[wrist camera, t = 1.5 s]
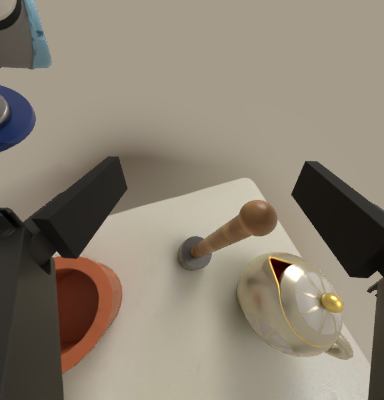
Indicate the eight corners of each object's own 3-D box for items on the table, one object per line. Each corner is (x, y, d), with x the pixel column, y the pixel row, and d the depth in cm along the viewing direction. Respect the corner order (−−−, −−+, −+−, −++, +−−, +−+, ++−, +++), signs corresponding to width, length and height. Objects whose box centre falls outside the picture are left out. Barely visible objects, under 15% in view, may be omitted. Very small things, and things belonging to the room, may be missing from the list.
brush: (176, 242, 33) (228, 179, 13) (202, 239, 35) (284, 180, 14) (178, 272, 31) (247, 253, 11) (206, 268, 33) (312, 245, 12)
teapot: (207, 291, 31) (262, 300, 17) (246, 242, 37) (309, 218, 23) (280, 377, 28) (423, 476, 14) (309, 308, 34) (425, 327, 20)
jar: (50, 268, 26) (4, 261, 18) (123, 260, 29) (114, 251, 21) (32, 355, 22) (-41, 404, 13) (120, 335, 25) (108, 363, 16)
